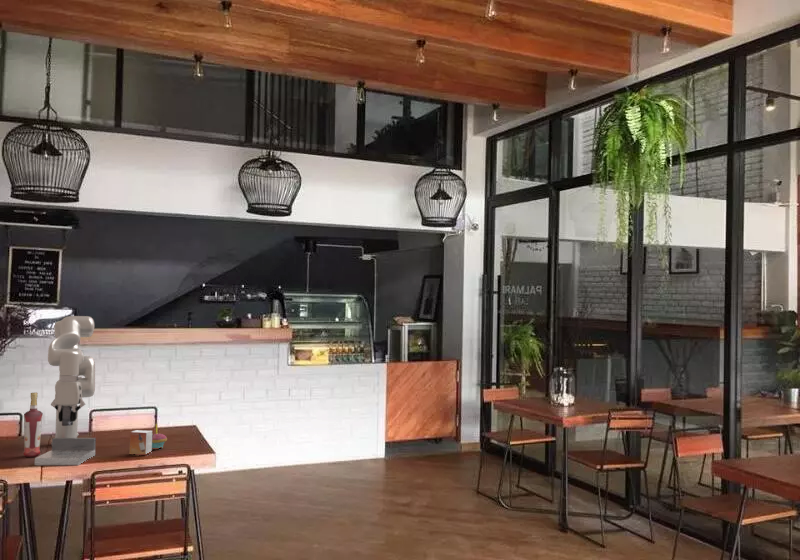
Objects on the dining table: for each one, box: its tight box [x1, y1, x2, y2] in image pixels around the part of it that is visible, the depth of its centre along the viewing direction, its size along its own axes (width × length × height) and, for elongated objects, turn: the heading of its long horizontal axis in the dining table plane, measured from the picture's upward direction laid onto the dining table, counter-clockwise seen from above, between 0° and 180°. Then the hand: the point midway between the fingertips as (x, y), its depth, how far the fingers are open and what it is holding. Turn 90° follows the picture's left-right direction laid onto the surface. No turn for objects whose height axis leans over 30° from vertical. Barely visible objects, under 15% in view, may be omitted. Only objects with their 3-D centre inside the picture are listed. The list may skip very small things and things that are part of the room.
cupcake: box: [152, 423, 168, 448], centre depth 317 cm, size 9×8×12 cm
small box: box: [128, 429, 153, 454], centre depth 305 cm, size 8×6×10 cm
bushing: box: [62, 406, 73, 426], centre depth 292 cm, size 4×4×8 cm
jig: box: [34, 437, 97, 466], centre depth 291 cm, size 18×18×8 cm
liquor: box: [22, 392, 44, 458], centre depth 298 cm, size 7×7×28 cm
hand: (67, 420), depth 292 cm, fingers closed on bushing, 4 cm apart
